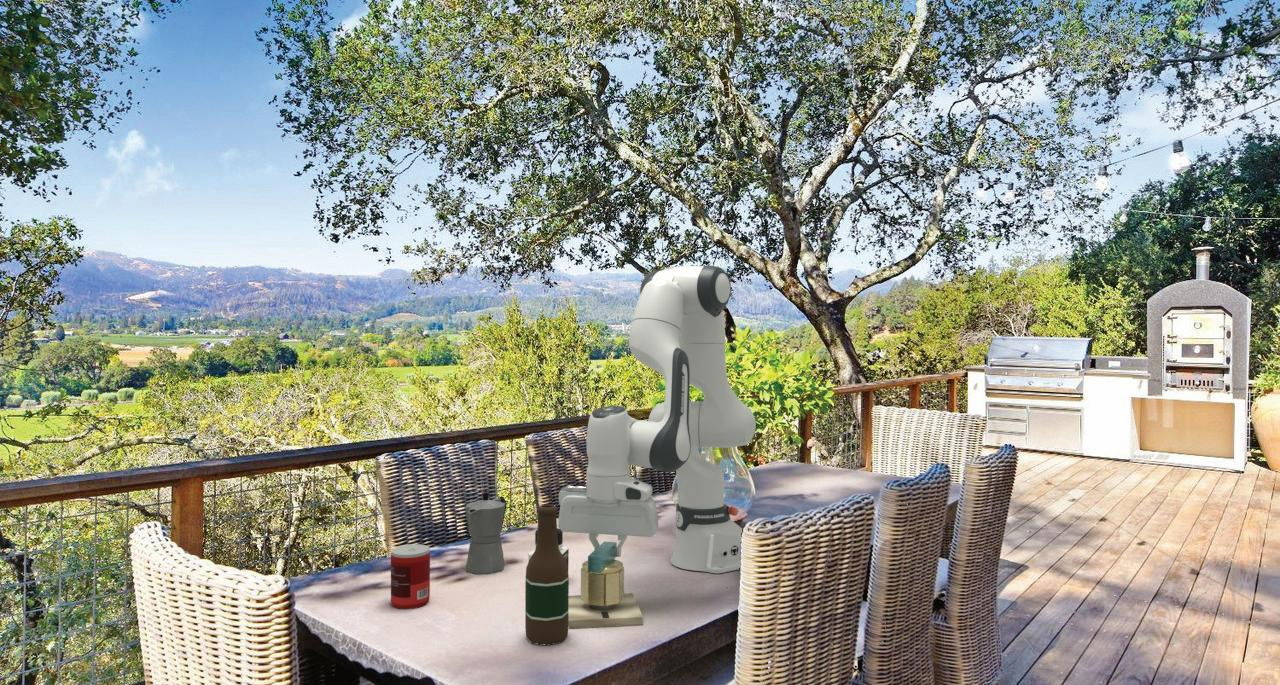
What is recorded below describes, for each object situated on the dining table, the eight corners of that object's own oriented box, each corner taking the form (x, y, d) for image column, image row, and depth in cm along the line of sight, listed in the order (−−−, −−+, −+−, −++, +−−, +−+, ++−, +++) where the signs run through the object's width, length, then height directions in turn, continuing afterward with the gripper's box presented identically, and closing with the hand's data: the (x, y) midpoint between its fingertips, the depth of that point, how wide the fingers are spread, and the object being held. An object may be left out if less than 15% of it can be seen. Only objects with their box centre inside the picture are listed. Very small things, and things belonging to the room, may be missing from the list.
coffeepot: (487, 579, 178) (488, 499, 178) (452, 574, 181) (452, 495, 181) (521, 560, 192) (522, 486, 192) (488, 556, 195) (488, 483, 195)
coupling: (574, 606, 152) (574, 555, 152) (591, 588, 163) (591, 540, 163) (614, 609, 150) (614, 558, 150) (629, 591, 161) (629, 543, 161)
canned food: (431, 595, 167) (431, 543, 167) (427, 608, 159) (428, 553, 159) (393, 597, 165) (393, 544, 165) (388, 610, 158) (388, 555, 157)
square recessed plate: (564, 603, 162) (565, 571, 162) (632, 600, 164) (632, 568, 164) (568, 628, 148) (569, 593, 148) (642, 624, 151) (643, 590, 150)
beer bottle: (568, 645, 140) (568, 510, 140) (523, 646, 140) (524, 511, 140) (568, 629, 148) (569, 501, 148) (526, 630, 148) (527, 501, 147)
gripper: (554, 488, 159) (553, 556, 159) (654, 492, 155) (653, 563, 155) (563, 482, 165) (563, 548, 165) (659, 486, 161) (659, 554, 161)
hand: (607, 555), depth 160 cm, fingers closed on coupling, 2 cm apart
